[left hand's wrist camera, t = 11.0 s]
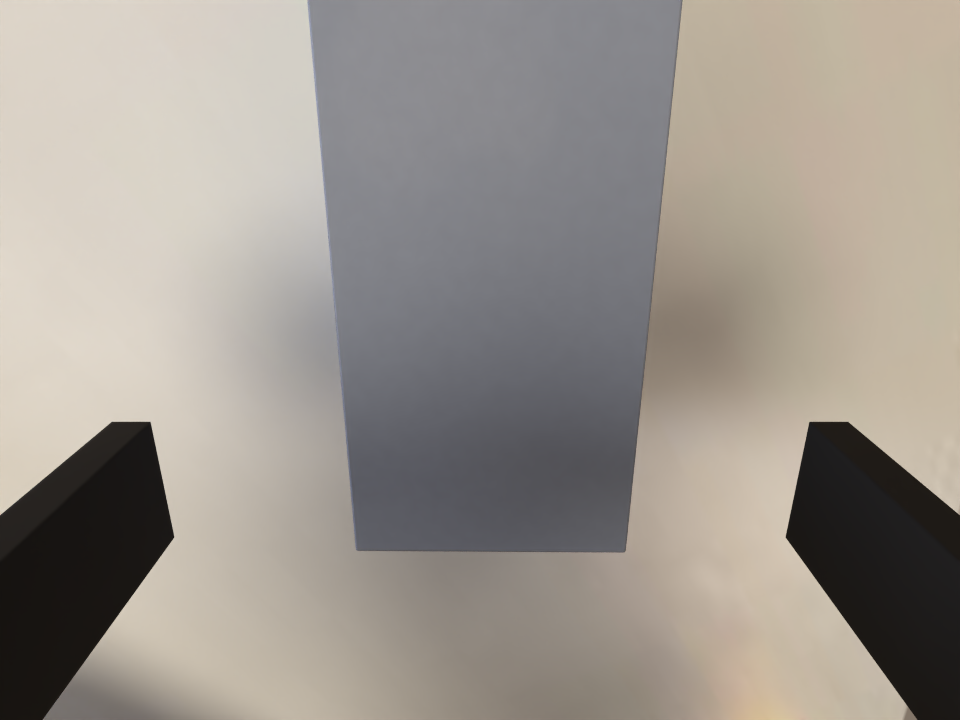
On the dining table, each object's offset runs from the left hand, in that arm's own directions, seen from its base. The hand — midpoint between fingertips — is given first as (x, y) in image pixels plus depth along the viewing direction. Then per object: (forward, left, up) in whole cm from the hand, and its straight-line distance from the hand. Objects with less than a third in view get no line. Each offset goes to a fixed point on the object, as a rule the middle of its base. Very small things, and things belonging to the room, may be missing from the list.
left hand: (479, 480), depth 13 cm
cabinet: (+6, -1, -12) cm, 13 cm away
